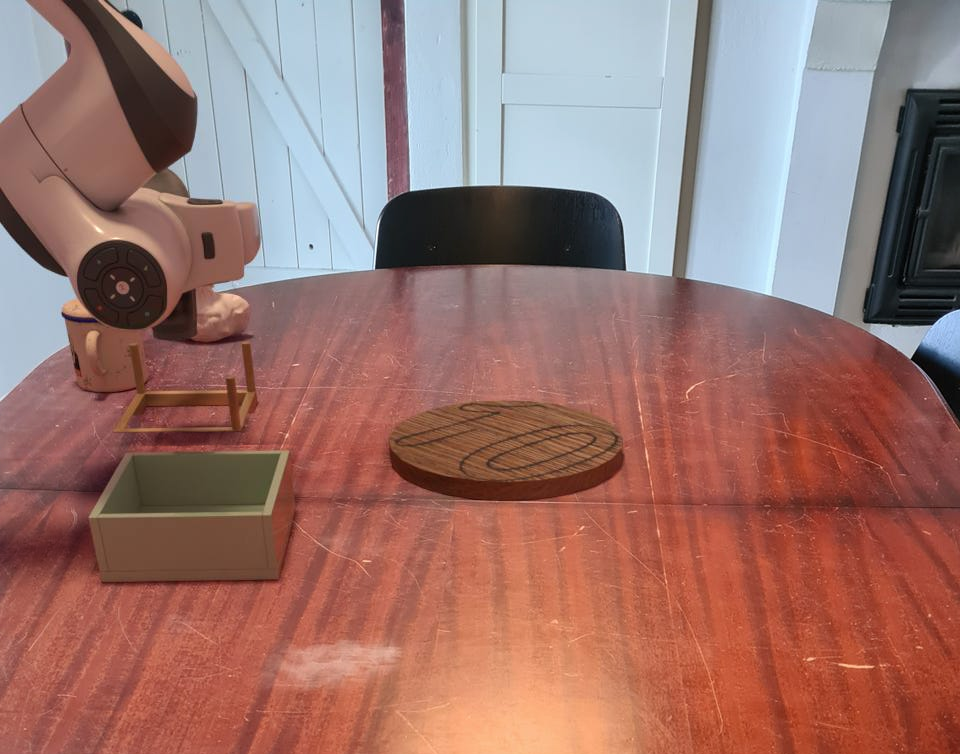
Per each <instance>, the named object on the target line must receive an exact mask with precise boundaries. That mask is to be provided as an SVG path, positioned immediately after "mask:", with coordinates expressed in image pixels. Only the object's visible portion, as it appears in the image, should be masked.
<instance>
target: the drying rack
mask: <svg viewBox="0 0 960 754" xmlns="http://www.w3.org/2000/svg"><path fill="white" fill-rule="evenodd" d="M240 344H241V351H242V360H243V368H244V377H245V384H246V389H237V385H236V384H237V383H236V376H234V375H227V376H225V387H226V389H215V390H214V389H213V390H212V389H211V390H208V389H207V390H205V389H204V390H146V385H145V383H144V378H143V373H142V367H141V361H140V355H139V349H138V344H137V343H130V344H129V349H130V354H131V360H132V366H133V372H134V377H135V383H136V388H135V389H136V394H135V396H134V397H133V399H132V401H131V402H130V403H129V405H128V407H127V409H126V410H125V412H124V413H123V415H122V416H121V418H120V419H119V421H118V423H117V424H116V426H115V428H114V429H113V431H112V433H115V434H123V433H124V434H125V433H126V434H128V433H129V434H131V433H195V432H197V433H199V432H201V433H202V432H204V433H205V432H208V433H209V432H241V431H242V428H243V426H244V424H245V421H246V419H247V416H248V414H254V412H255V409H256V407H257V404H258V394H257V390H256V383H255V382H256V381H255V374H254V373H255V372H254V365H253V364H254V363H253V356H252V346H251V342H250V341H242V342H241V343H240ZM201 406H203V407H204V406H209V407H210V406H228V409H229V415H230V416H229V417H230V423H231V426H215V427H214V426H213V427H212V426H211V427H210V426H208V427H206V426H205V427H142V428H141V427H137V428H135V427H134V428H132V427H131V428H129V427H128V428H126V427H127V426H128V424H129V423H130V421H131V419H132V417H133V416H142V415H143V414H144V412H145V411H146V409H147V407H201ZM239 406H240V408H239Z"/></svg>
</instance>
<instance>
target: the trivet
mask: <svg viewBox="0 0 960 754" xmlns="http://www.w3.org/2000/svg"><path fill="white" fill-rule="evenodd" d="M623 441H624V437H623V435H622V433H621V432H620V431H619V429H618V428H617V426H616V425H614V424H613V423H611V422H610V421H608V420H607V419H606V418H603V417H601V416H599V415H596V414H594V413H592V412H588V411H586V410H583V409H578V408H575V407H571V406H566V405H562V404H557V403H548V402H541V401H532V400H506V399H505V400H503V399H502V400H484V401H483V400H481V401H472V402H465V403H464V402H463V403H457V404H450V405H444V406H442V407H437V408H433V409H429V410H425V411H423V412H420V413H419V414H416V415H413V416H411V417H408V418H407V419H405V420H404V421H403V422H401V423H400V424H399V425H397V426H396V427H394V428H393V430H392V432H391V434H390V435H389V438H388V449H389V461H390V464H391V468H392V469H393V470H394V471H395V472H396V473H397V474H398V475H399V476H400V477H401V478H402V479H404V480H406V481H408V482H410V483H412V484H413V485H416V486H418V487H420V488H423V489H426V490H429V491H433V492H437V493H440V494H444V495H448V496H454V497H462V498H466V499H473V500H474V499H475V500H491V501H493V500H494V501H521V500H537V499H538V500H539V499H540V500H541V499H546V498H551V497H558V496H563V495H571V494H573V493H576V492H579V491H582V490H585V489H589V488H592V487H595V486H597V485H598V484H600V483H602V482H604V481H606V480H607V479H609V478H612V476H614V474H615V473H616V472H617V471H618V470H619V468H620V467H621V466H622V465H621V464H622V455H623Z"/></svg>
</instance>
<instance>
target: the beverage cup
mask: <svg viewBox="0 0 960 754" xmlns="http://www.w3.org/2000/svg"><path fill="white" fill-rule="evenodd" d="M141 188H148V189H152V190H155V191H158V192H160V193H169V194H173V195H177V196H181V197H185V198H191V196H190V192H189V190H188V188H187V187H186V184H185V183H184V181H183V180H182V179H181V178H180V177H179V176H178V175H177V174H176V173H175V172H174V171H172V170H171V169H170V168H169V167H168V168H167V169H165V170H164V171H162V172H161V173H160V174H157V173H156V174H155V175H154V176H153V177H152V178H151V179H150V180H148V181H147V182H146V183H145V184H144V185H143V186H142V187H141ZM151 330H152V336H153V338H154V339H156V340H160V341H169V342H170V341H171V342H172V341H183V340H188V339H191V338H192V337H194V336H196V335H197V333H198V332H197V305H196V289H192V290H190V291H187V292H185V293H182V295H181V297H180V299H179V301H178V303H177V305H176V307H175V308H174V309H173V311H172V312H171V314H170V315H169V316H168V317H167V318H166V319H165V320H164V321H162V322H161V323H160V324H158V325H156V326H154V327H152V328H151Z"/></svg>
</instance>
